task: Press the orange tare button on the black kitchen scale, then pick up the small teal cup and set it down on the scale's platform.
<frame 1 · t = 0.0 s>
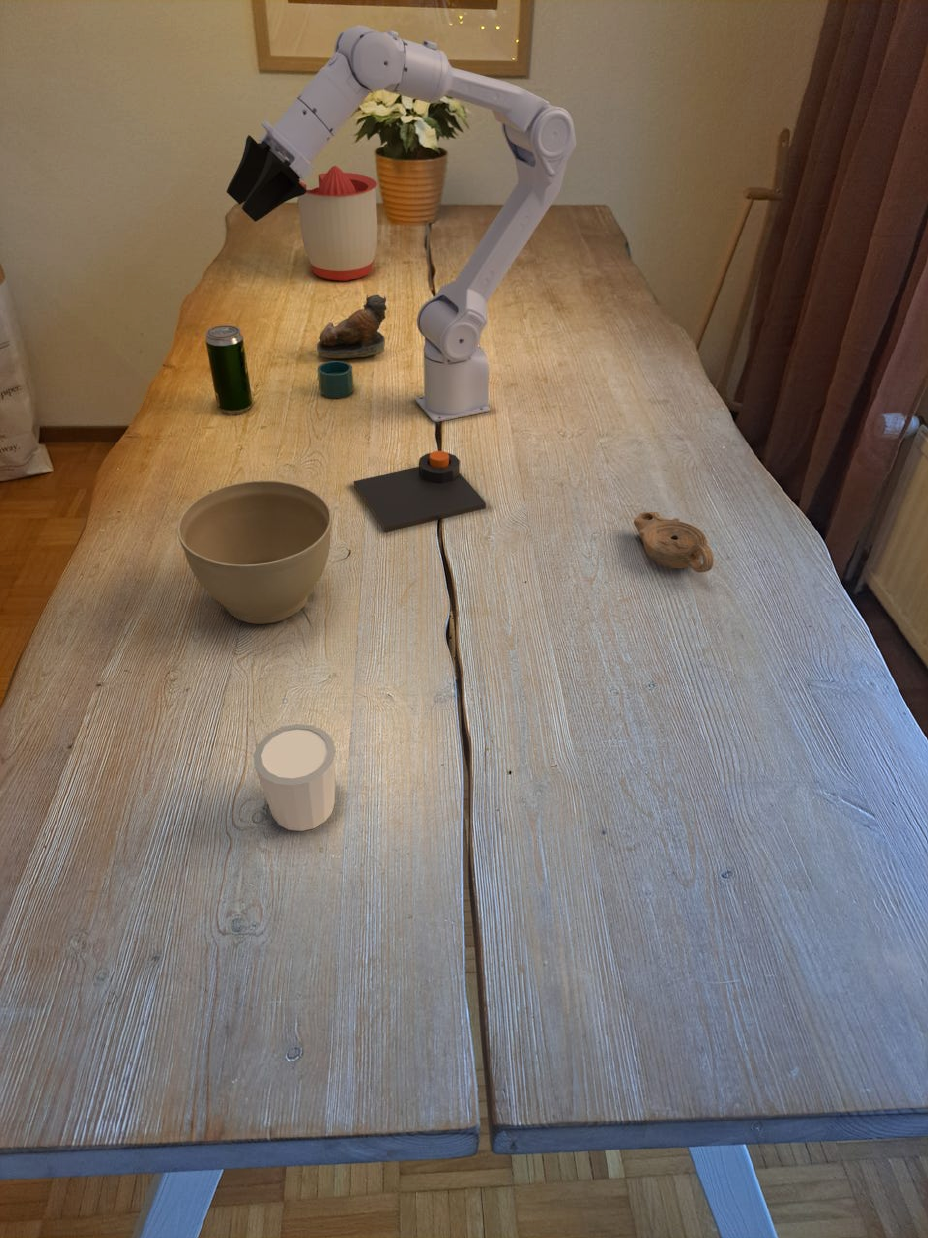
hand: (240, 206, 110), 32 cm above the table, tool tilted 50°, fingers open, 7 cm apart
beer can: (235, 408, 140), on the table
beige cylinder: (303, 806, 81), on the table
teal cup: (336, 391, 144), on the table
tare button: (439, 459, 122), point 3 cm above the table, slide at 0.1 cm
bison figurine: (353, 356, 155), on the table
oil lamp: (671, 559, 111), on the table
planter bowl: (268, 600, 104), on the table
scale: (418, 497, 120), on the table
citrus juicer: (339, 272, 186), on the table
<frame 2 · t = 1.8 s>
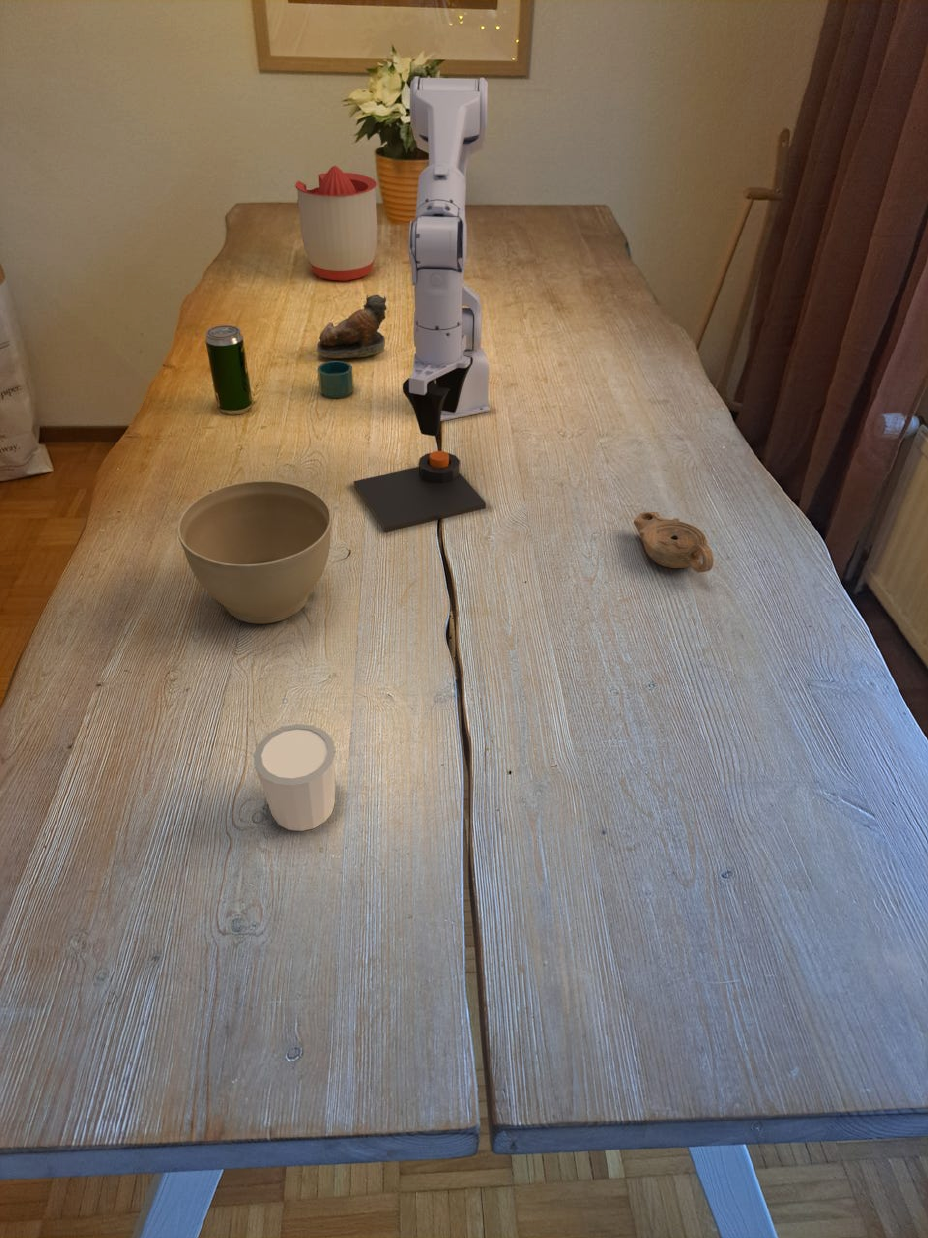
hand: (439, 422, 119), 8 cm above the table, tool pointing down, fingers open, 6 cm apart
nothing on the table moved.
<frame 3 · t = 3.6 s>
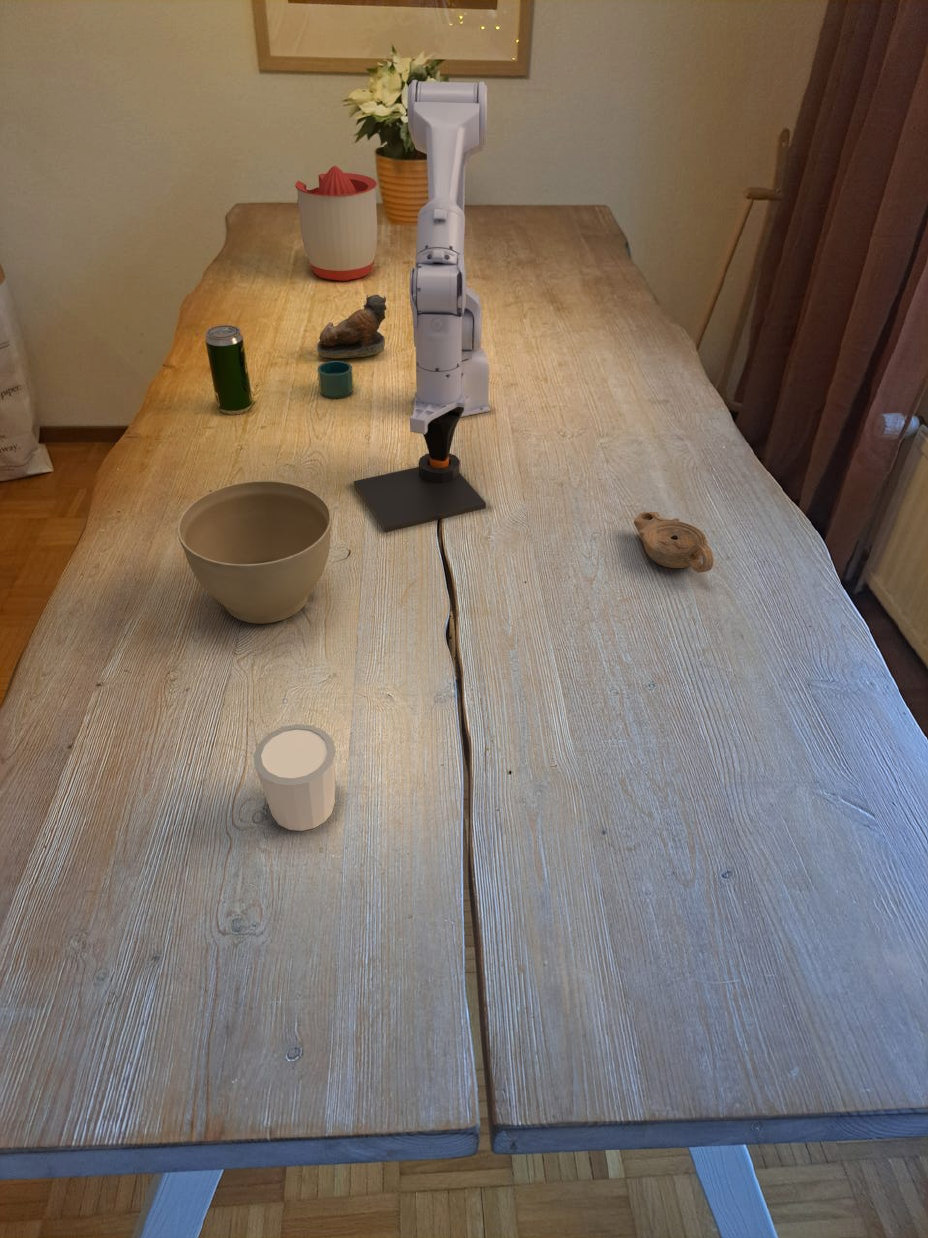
hand: (439, 457, 122), 3 cm above the table, tool pointing down, fingers closed, pressing on tare button
tare button: (439, 461, 123), point 2 cm above the table, slide at -0.2 cm, touching gripper
everything else where it was.
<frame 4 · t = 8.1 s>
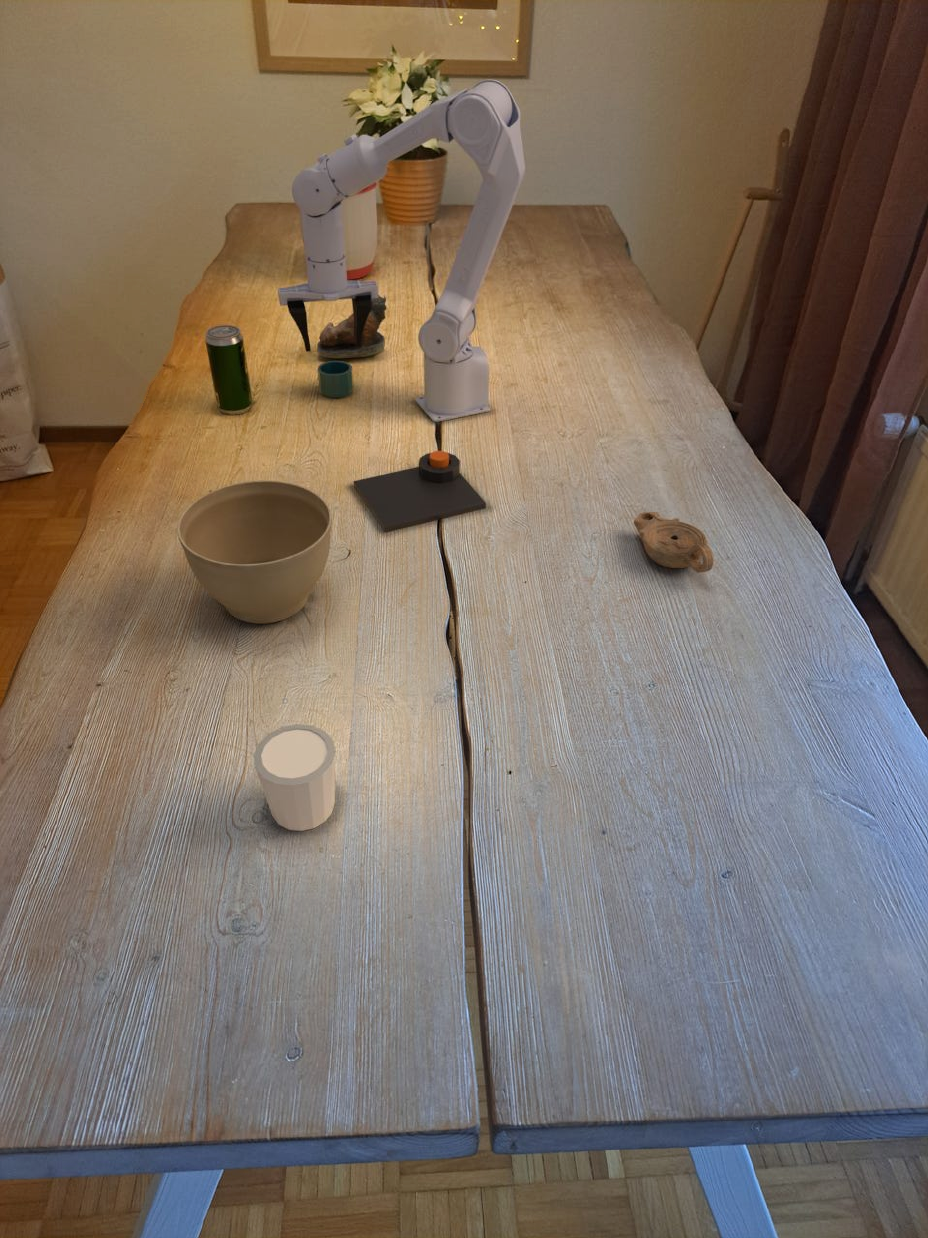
hand: (332, 346, 139), 7 cm above the table, tool pointing down, fingers open, 7 cm apart
tare button: (439, 459, 122), point 3 cm above the table, slide at 0.1 cm
everything else where it was.
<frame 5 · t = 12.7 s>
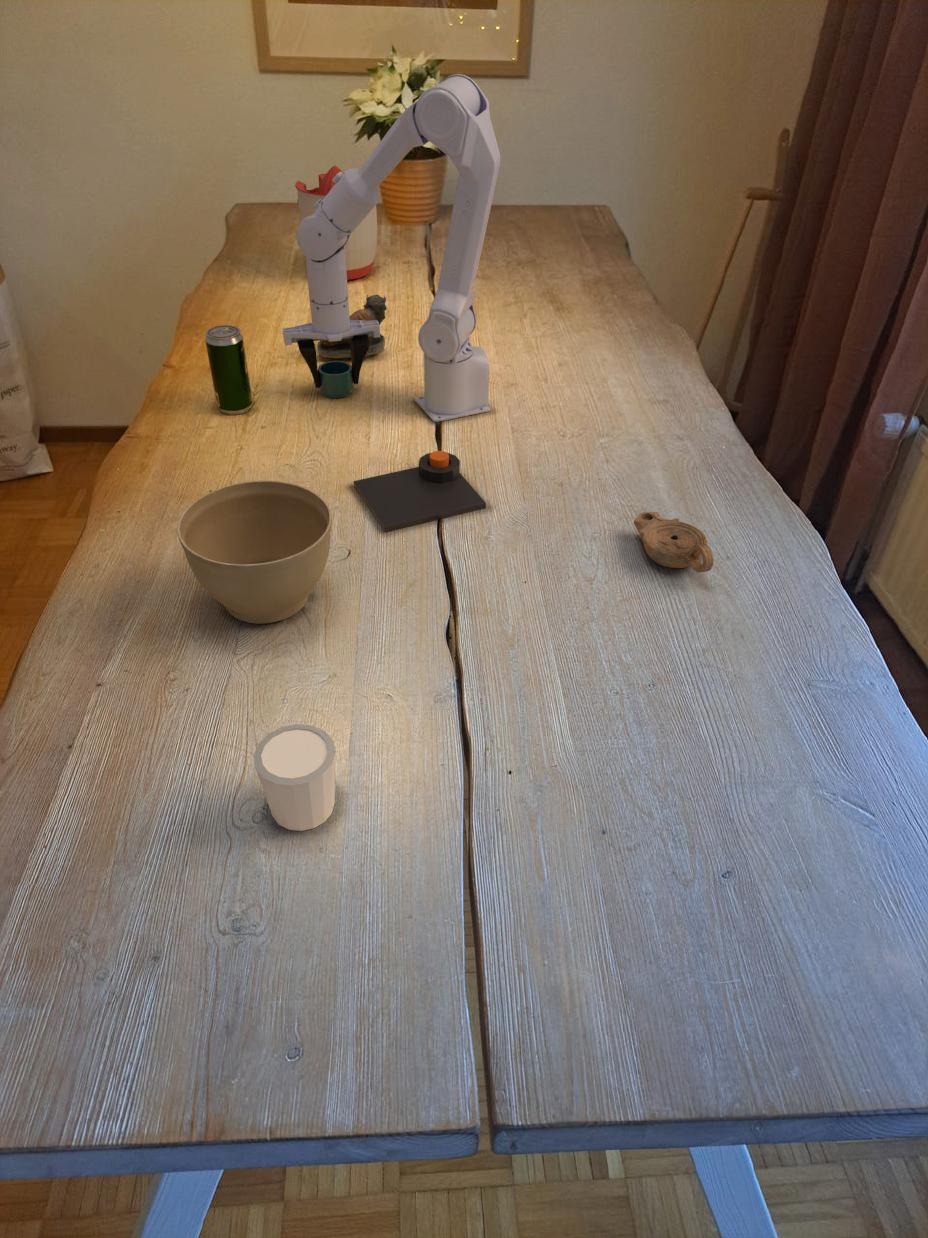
hand: (336, 383, 143), 1 cm above the table, tool pointing down, fingers closed on teal cup, 5 cm apart
teal cup: (337, 391, 144), on the table, touching gripper
everything else where it was.
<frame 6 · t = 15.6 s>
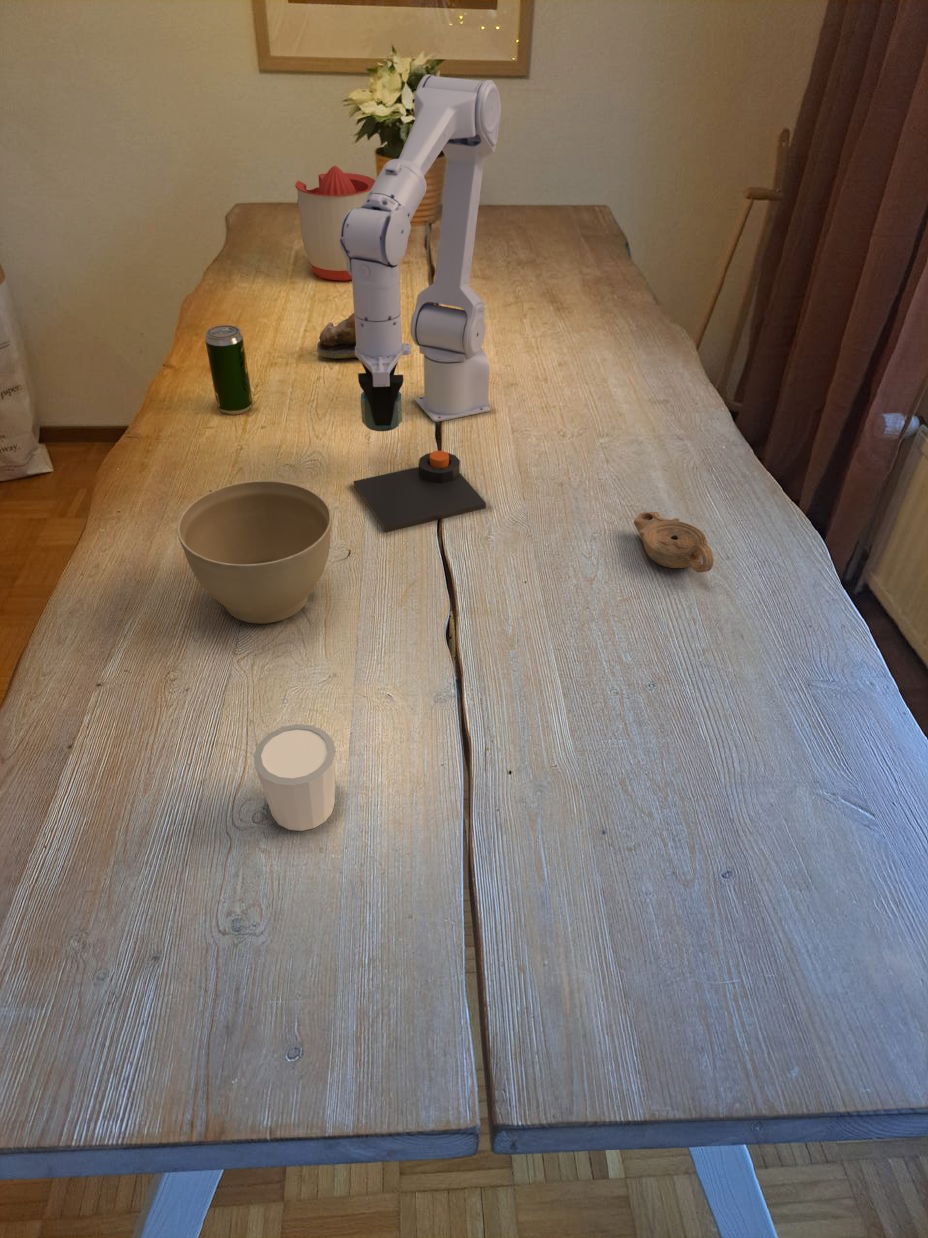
hand: (382, 413, 120), 8 cm above the table, tool pointing down, fingers closed on teal cup, 5 cm apart
teal cup: (382, 423, 121), point 7 cm above the table, touching gripper
everything else where it was.
when the fingers open (2 cm above the table, at t = 18.5 s): teal cup stays where it is, resting on scale.
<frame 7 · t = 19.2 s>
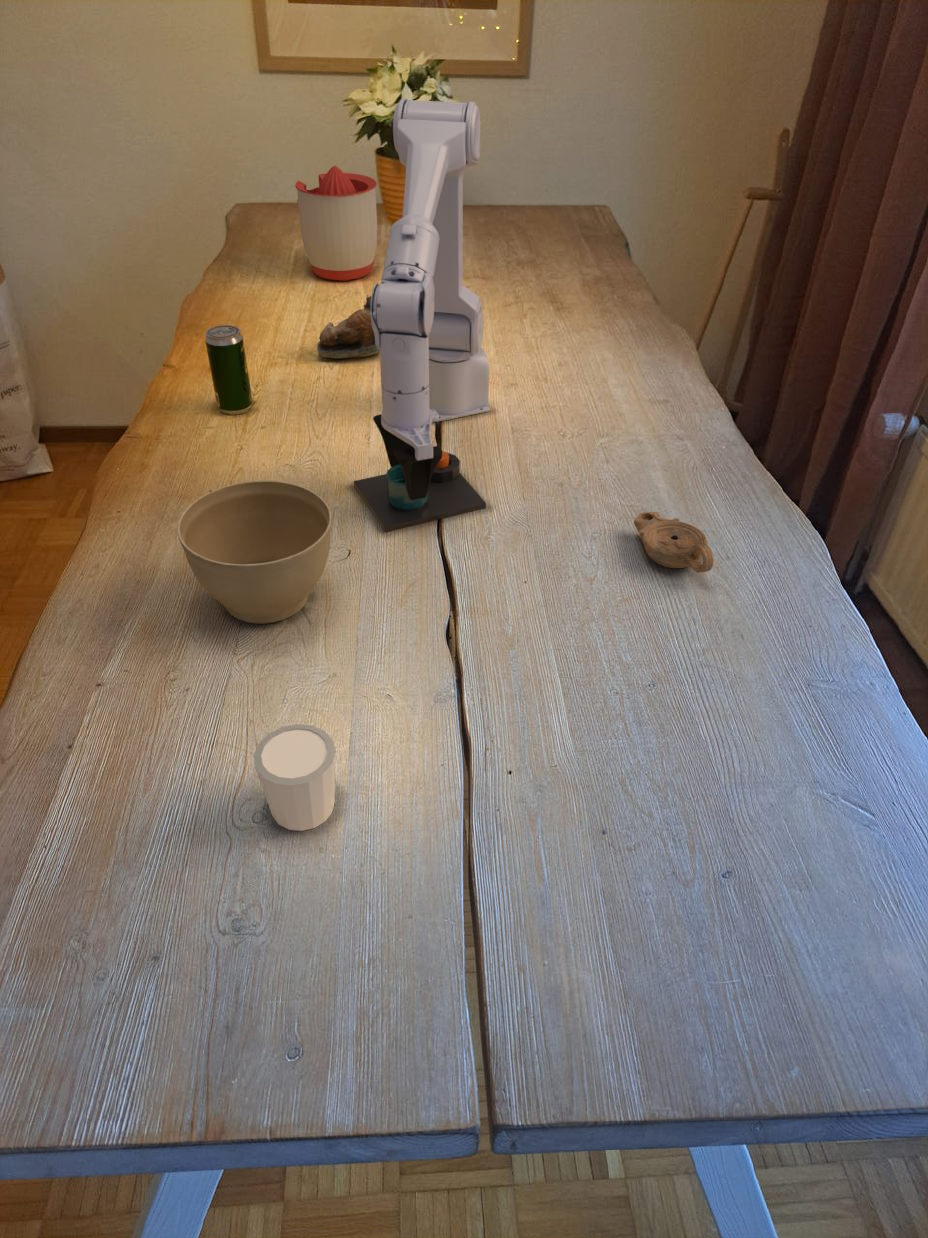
hand: (408, 482, 116), 4 cm above the table, tool pointing down, fingers open, 7 cm apart
teal cup: (408, 500, 118), point 1 cm above the table, touching scale
everything else where it was.
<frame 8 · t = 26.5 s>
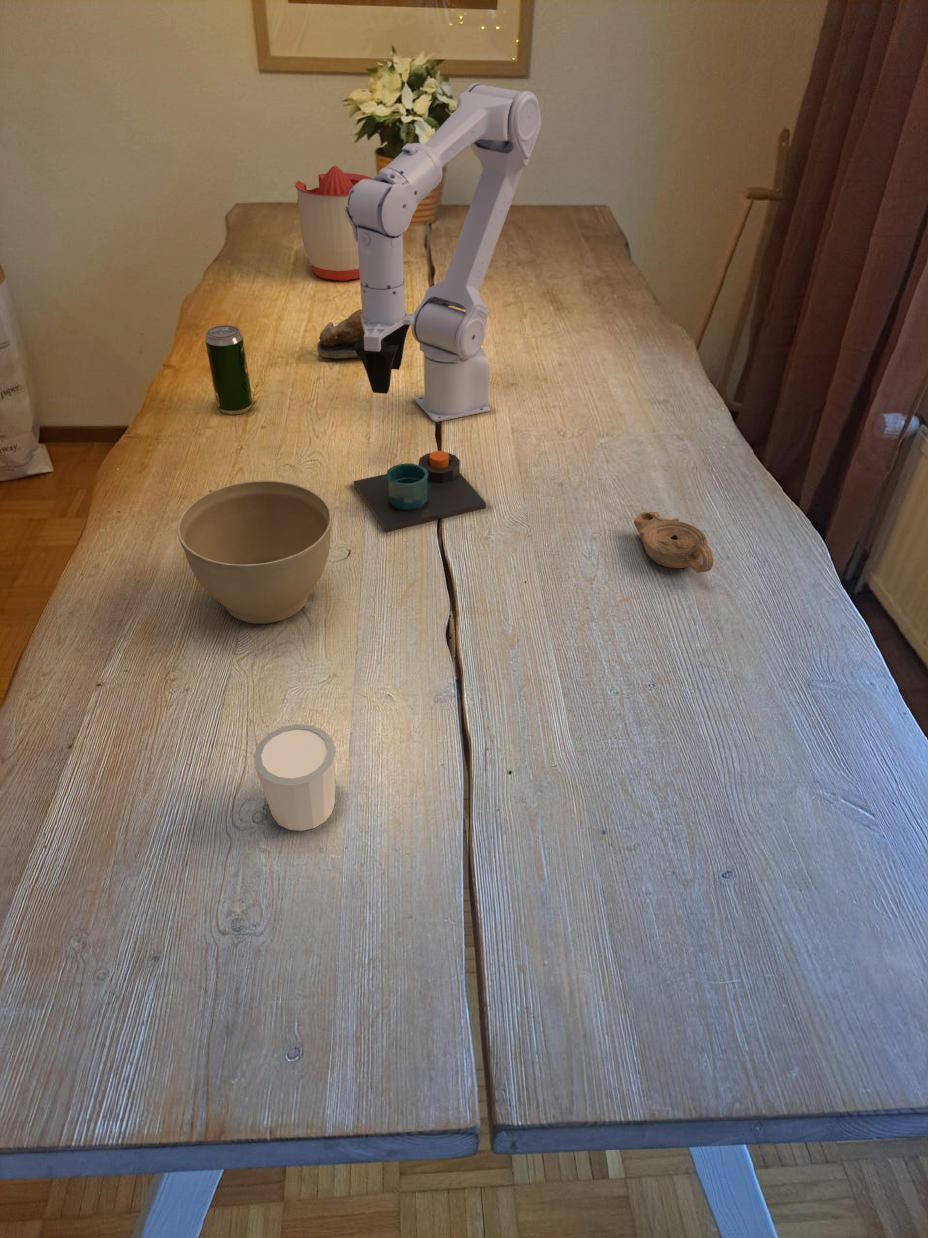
hand: (386, 379, 126), 9 cm above the table, tool pointing down, fingers open, 7 cm apart
nothing on the table moved.
at the end: tare button pushed in 1.0 cm at the most during the clip, back to where it started at the end; teal cup inside the target area on the scale (2.6 cm from its centre), point 0.9 cm above the scale's base; teal cup touching scale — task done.
